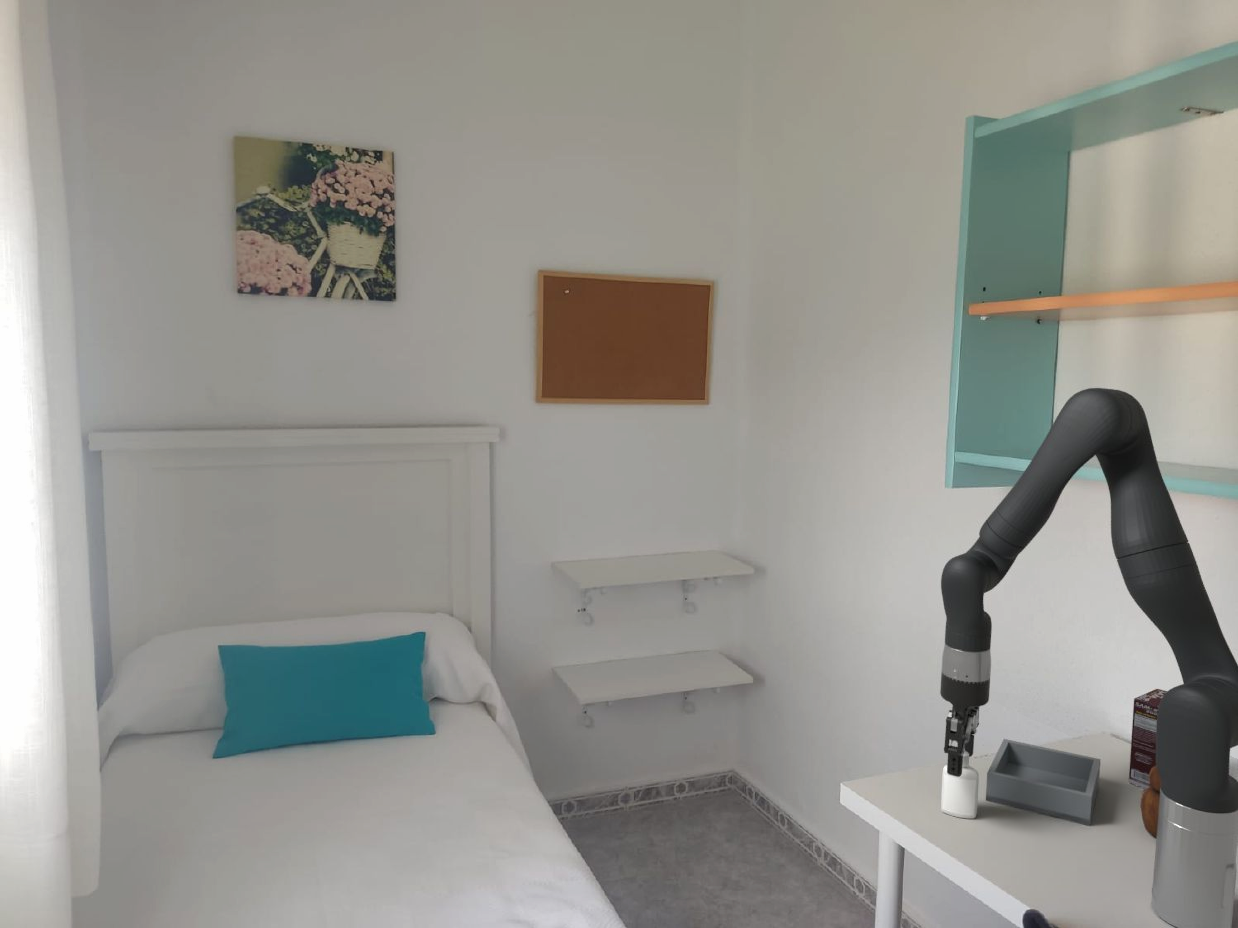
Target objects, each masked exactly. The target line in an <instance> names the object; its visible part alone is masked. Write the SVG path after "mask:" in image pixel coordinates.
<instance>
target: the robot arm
mask: <svg viewBox="0 0 1238 928" xmlns="http://www.w3.org/2000/svg"><path fill="white" fill-rule="evenodd" d="M1148 422H1149V421H1148V419H1147V416H1146V413H1145V410H1144V408H1143V406H1142V405H1141V403H1140V402H1139V401H1138V399H1136V397H1134V396H1133V395H1132V394H1130V393H1128V392H1126V391H1123V390H1120V389H1112V388H1105V387H1104V388H1103V387H1092V388H1091V387H1089V388H1086V389H1082V390H1080V391H1078V392H1076V393H1074V394H1073V395H1072V396H1070V397H1069V399H1067V400H1066V402H1065V404H1064V405H1063V407H1062V408H1061V410H1060V412H1058V414H1057V416H1056V418H1055V419H1054V421H1053V423H1052V425H1051V427H1050V429H1049V431H1048V433H1047V434H1046V436H1045V438H1044V439H1043V442H1042V443H1041V445H1040V446H1039V447H1038V449H1037V451H1036V453H1035V455H1034V456H1033V458H1032V459H1031V460H1030V462H1029V464H1028V465H1027V467H1026V469H1025V470H1024V472H1023V473H1022V474H1021V476H1020V477H1019V478H1018V480H1017V481H1016V482H1015V484H1014V485H1013V486H1012V488H1011V489H1010V490H1009V491H1008V493H1007V494H1006V496H1005V497H1004V498H1003V499H1002V500H1001V502H999V504H998V505H997V506H996V507H995V509H994V510H993V511H992V512H991V513H990V515H989V516H988V518H986V520H985V521H984V522H983V524H982V526H981V527H980V529H979V533H978V535H979V537H978V538H977V540H976V541H975V542H974V543H973V544H972V546H971V547H970V548H969V549H968V550H967V551H966V552H963V553H962V554H959V555H956V556H954V557H952V558H951V559H948V561H947V562H946V563H945V565H944V567H943V569H942V573H941V576H940V577H941V579H940V590H941V597H942V602H943V608H944V613H945V617H946V620H945V631H944V632H945V633H944V645H943V650H942V651H943V652H942V657H941V658H942V659H941V673H940V674H941V675H940V691H939V693H940V696H941V698H942V699H943V700H944V701H946V702H949V703H950V704H951V705H952V707H951V709H949V710H948V714H947V716H946V719H945V733H944V734H945V737H944V747H943V751H944V753H945V754H947V763H946V765H947V773H948V774H949V775H953V776H957V777H960V776H961V774H962V765H963V754H964V748H965V751H967V752H968V753H969V758H970V757H972V756H973V755H974V745H975V744H974V743H975V735H976V734H977V732H978V731H977V728H978V727H979V726H980V722H979V719H980V707H982V706H985V705H986V704H988V703H989V700H990V688H991V687H990V686H991V672H992V656H991V644H992V643H991V642H992V631H993V629H992V627H993V626H992V618H991V616H990V614H989V613H988V612H986V611H985V608H984V597H985V596H984V595H985V594H986V593H987V592H990V591H991V590H993V589H994V588H996V587H997V586H999V584H1000V582H1002V581H1003V579H1004V578H1005V576H1006V575H1007V573H1008V572H1009V570H1010V569H1011V568H1012V566H1013V564H1014V563H1015V561H1016V559H1017V558H1018V556H1019V554H1021V553H1022V552H1023V550H1025V549H1026V547H1027V546H1028V545H1029V544H1030V543H1031V541H1033V539H1034V538H1035V537H1036V536H1037V535H1038V534H1039V532H1040V531H1041V530H1042V529H1043V528H1044V526H1045V525H1046V524H1047V522H1049V521H1048V520H1049V519H1050V517H1051V516H1052V514H1053V512H1054V510H1055V507H1056V505H1057V503H1058V501H1059V499H1060V497H1061V495H1062V493H1063V491H1064V490H1065V488H1066V486H1067V485H1068V483H1069V482H1070V480H1071V479H1072V478H1073V477H1074V476H1075V475H1076V473H1077V472H1079V470H1080V469H1081V468H1082V467H1084V466H1085V464H1087V462H1089V461H1090V460H1091V459H1092V458H1094V457H1096V459H1097V461H1098V463H1099V465H1100V468H1101V470H1102V473H1103V475H1104V478H1105V481H1106V484H1107V487H1108V491H1109V496H1110V497H1109V498H1110V536H1111V543H1112V544H1111V545H1112V549H1113V554H1114V557H1115V559H1116V562H1117V566H1118V568H1119V570H1120V573H1121V576H1122V579H1123V581H1124V584H1125V586H1126V589H1127V591H1128V593H1129V595H1130V597H1131V598H1132V599H1133V601H1134V603H1135V604H1136V605H1137V606H1138V608H1140V610H1141V611H1142V612H1143V613H1144V615H1145V616H1146V617H1147V619H1149V620H1150V621H1151V623H1153V624H1154V626H1155V627H1156V628H1157V630H1159V631H1160V632H1161V635H1163V637H1164V638H1165V640H1166V641H1167V643H1168V644H1169V647H1170V648H1171V651H1172V652H1173V655H1174V658H1175V661H1176V663H1177V666H1178V669H1179V671H1180V675H1181V679H1182V681H1183V682H1182V683H1183V684H1179V685H1176V686H1173V687H1172V688H1170V689H1169V690H1166V691H1167V692H1166V693H1165V694H1164V696H1163V697H1162V699H1161V701H1160V704H1159V708H1158V713H1157V724H1156V766H1157V770H1158V773H1159V775H1160V778H1161V785H1160V800H1159V813H1158V825H1157V837H1156V838H1155V839H1156V840H1155V851H1154V852H1155V853H1154V863H1153V864H1154V865H1153V876H1152V887H1151V901H1150V903H1151V904H1150V905H1151V908H1152V910H1153V912H1154V913H1155V914H1156V915H1157V916H1158V917H1159V918H1160V919H1162V921H1164V922H1165V923H1167V924H1169V925H1171V926H1173V927H1176V928H1233V917H1234V905H1235V892H1236V883H1237V882H1236V881H1237V853H1238V780H1237V779H1236V778H1234V776H1233V775H1231V774H1230V760H1231V759H1230V758H1231V749H1232V748H1234V747H1237V746H1238V662H1237V661H1236V659H1235V656H1234V655H1233V653H1232V651H1231V649H1230V646H1229V644H1228V642H1227V640H1226V638H1225V635H1224V633H1223V630H1222V628H1221V625H1220V622H1219V620H1218V618H1217V615H1216V612H1215V609H1214V607H1213V604H1212V601H1211V599H1210V597H1209V595H1208V592H1207V590H1206V586H1205V584H1204V582H1203V579H1202V578H1203V577H1202V575H1201V572H1200V569H1199V566H1198V564H1197V563H1198V562H1197V560H1196V557H1195V555H1194V552H1193V549H1192V547H1191V545H1190V542H1189V539H1188V537H1187V535H1186V532H1185V529H1184V527H1183V525H1182V523H1181V520H1180V516H1179V515H1178V512H1177V510H1176V506H1175V505H1174V502H1173V500H1172V498H1171V494H1170V493H1169V490H1168V488H1167V485H1166V483H1165V481H1164V478H1163V476H1162V473H1161V470H1160V467H1159V463H1158V459H1157V456H1156V455H1157V454H1156V452H1155V446H1154V443H1153V439H1152V434H1151V431H1150V427H1149V423H1148ZM953 742H956V743H957V746H954V745H953Z"/></svg>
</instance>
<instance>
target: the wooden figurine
mask: <svg viewBox="0 0 1238 928" xmlns="http://www.w3.org/2000/svg"><path fill="white" fill-rule="evenodd" d="M1149 782H1150V785H1151V786H1150V787H1148V788H1147V789H1144V791H1143V792H1142V795H1141V798H1140V811H1141V819H1142V822H1143V825H1144V828H1145V830H1146V832H1147V833H1148V834H1150V835H1151V836H1153V837H1154V838H1155V839H1156V837H1157V825H1158V813H1159V800H1160V785H1161V778H1160V775H1159V773H1158V770H1157V766H1156V765H1155V766H1154V767H1152V768H1151V771H1150V773H1149Z"/></svg>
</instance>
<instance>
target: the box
mask: <svg viewBox="0 0 1238 928" xmlns="http://www.w3.org/2000/svg"><path fill="white" fill-rule="evenodd" d="M1101 761H1102V760H1101V758H1097V757H1092V756H1087V755H1082V754H1078V753H1073V752H1068V751H1063V750H1058V749H1054V748H1050V747H1044V746H1039V745H1035V744H1030V743H1025V742H1021V741H1016V740H1011V739H1006V738H1003V740H1002V742H1001V744H1000V746H999V748H998V749H997V752H996V754H995V757H994V758H993V760H992V763H991V764H990V765H989V768H988V769H987V772H986V790H985V792H986V793H985V801H987V802H990V803H991V802H993V803H996V804H999V805H1005V806H1007V807H1012V808H1016V809H1020V810H1024V811H1028V812H1032V813H1037V814H1041V815H1045V816H1047V817H1048V816H1049V817H1052V818H1056V819H1061V820H1065V821H1069V822H1072V823H1076V824H1081V825H1085V826H1089V827H1090V826H1091V821H1092V817H1093V813H1094V808H1095V806H1096V805H1095V803H1096V800H1097V795H1098V790H1099V786H1100V775H1101V773H1100V772H1101Z"/></svg>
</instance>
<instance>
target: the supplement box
mask: <svg viewBox="0 0 1238 928" xmlns="http://www.w3.org/2000/svg"><path fill="white" fill-rule="evenodd" d="M1167 691H1168V690H1164V689H1160V688H1155V689H1153V690H1151V691H1149V692H1146V693H1144V694H1142V695H1139V696H1138V697H1135V698H1133V710H1132V724H1131V725H1132V726H1131V727H1132V728H1131V742H1130V755H1129V756H1130V757H1129V771H1128V774H1129V775H1128V783H1129V782H1130V783H1129V784H1131V783H1132V784H1131V785H1134V786H1136V785H1137V787H1138V788H1142V789H1144V790H1145V789H1147V788H1148V787H1150V786H1151V785H1150V782H1149V773H1150V771H1151V768H1152V767H1154V766H1155V765H1156V724H1157V713H1158V708H1159V704H1160V701H1161V699H1162V697H1163V696H1164V694H1165V693H1166V692H1167Z"/></svg>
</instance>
